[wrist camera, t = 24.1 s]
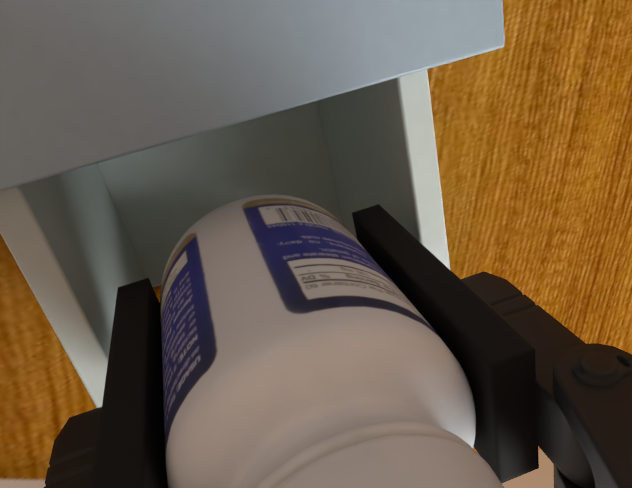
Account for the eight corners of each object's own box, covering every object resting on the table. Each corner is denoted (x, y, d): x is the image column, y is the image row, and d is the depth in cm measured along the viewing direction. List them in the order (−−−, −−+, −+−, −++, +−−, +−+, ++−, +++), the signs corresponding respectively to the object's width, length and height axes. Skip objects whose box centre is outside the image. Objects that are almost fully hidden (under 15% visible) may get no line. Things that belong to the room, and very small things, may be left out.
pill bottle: (234, 397, 15) (313, 806, 8) (115, 266, 13) (53, 679, 5) (389, 298, 15) (627, 605, 8) (301, 147, 13) (523, 378, 5)
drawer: (392, 345, 28) (498, 499, 19) (178, 422, 26) (189, 629, 18) (315, -68, 19) (444, -122, 11) (-13, 10, 18) (-176, 20, 9)
